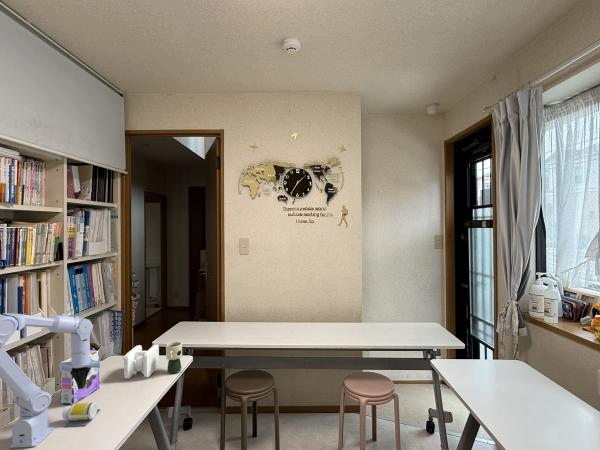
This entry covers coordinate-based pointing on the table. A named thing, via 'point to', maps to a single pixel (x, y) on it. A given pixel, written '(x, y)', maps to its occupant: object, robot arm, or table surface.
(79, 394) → the candy box
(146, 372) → the cable organizer
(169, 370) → the character mug
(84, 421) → the mat
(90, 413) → the supplement bottle
